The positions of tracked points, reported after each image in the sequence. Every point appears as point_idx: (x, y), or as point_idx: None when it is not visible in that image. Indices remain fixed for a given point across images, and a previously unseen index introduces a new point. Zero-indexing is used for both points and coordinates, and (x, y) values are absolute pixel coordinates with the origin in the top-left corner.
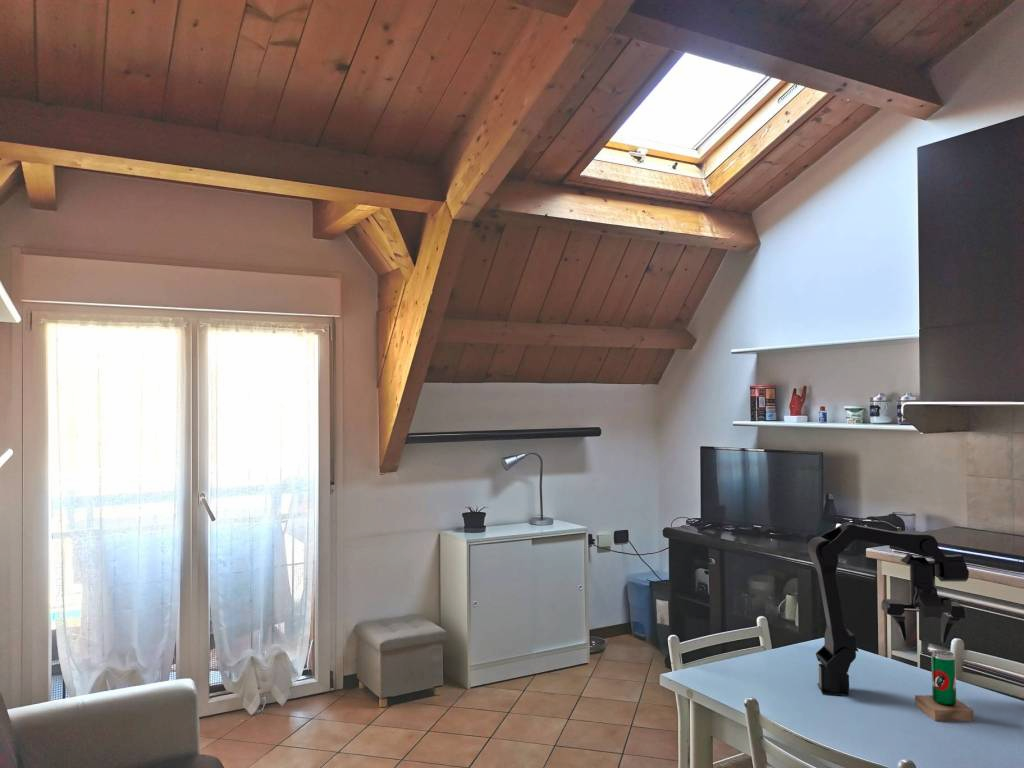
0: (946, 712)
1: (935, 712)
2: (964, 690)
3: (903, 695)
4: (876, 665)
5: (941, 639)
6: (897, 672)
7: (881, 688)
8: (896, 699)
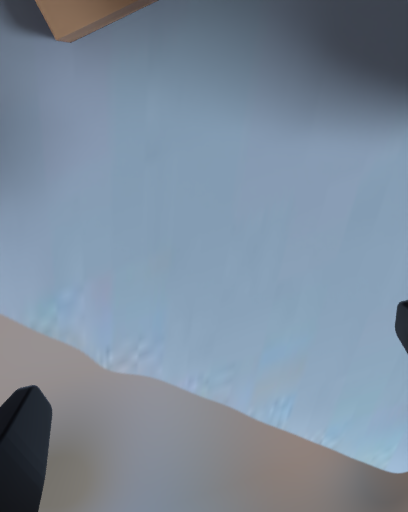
0: None
1: None
2: (35, 272)
3: (284, 105)
4: (310, 376)
5: (47, 433)
6: (257, 347)
7: (358, 162)
8: (331, 25)
